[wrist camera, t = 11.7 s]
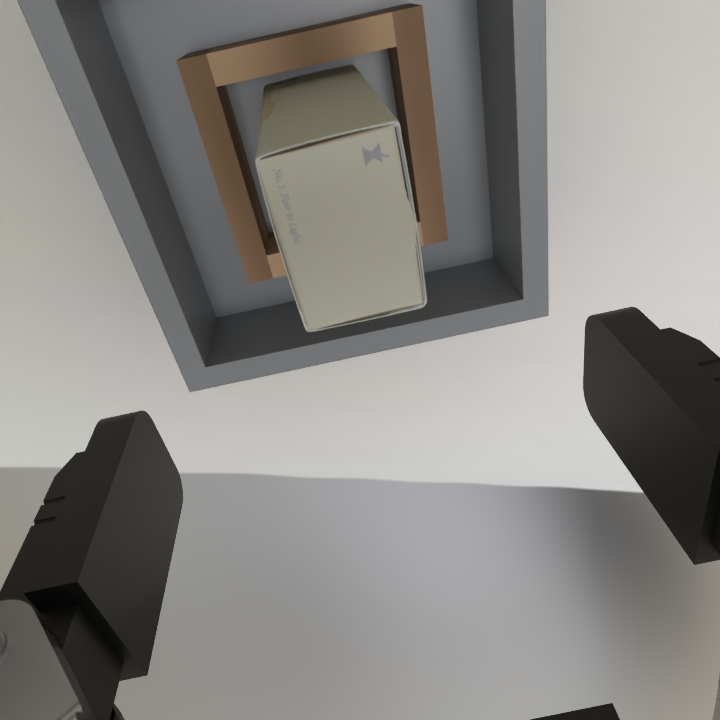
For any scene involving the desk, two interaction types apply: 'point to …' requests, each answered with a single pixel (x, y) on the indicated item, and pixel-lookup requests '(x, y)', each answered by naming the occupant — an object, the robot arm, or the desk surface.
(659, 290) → the desk surface
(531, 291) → the open box
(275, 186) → the skincare box
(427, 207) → the square socket
